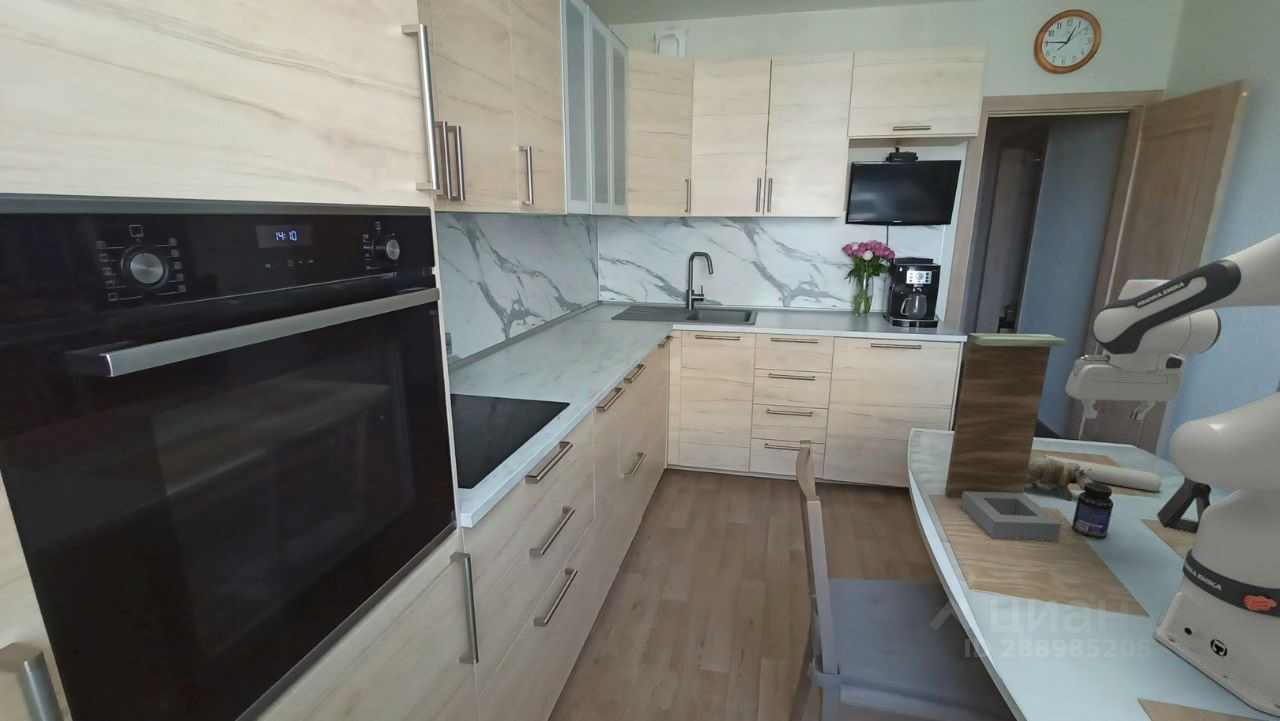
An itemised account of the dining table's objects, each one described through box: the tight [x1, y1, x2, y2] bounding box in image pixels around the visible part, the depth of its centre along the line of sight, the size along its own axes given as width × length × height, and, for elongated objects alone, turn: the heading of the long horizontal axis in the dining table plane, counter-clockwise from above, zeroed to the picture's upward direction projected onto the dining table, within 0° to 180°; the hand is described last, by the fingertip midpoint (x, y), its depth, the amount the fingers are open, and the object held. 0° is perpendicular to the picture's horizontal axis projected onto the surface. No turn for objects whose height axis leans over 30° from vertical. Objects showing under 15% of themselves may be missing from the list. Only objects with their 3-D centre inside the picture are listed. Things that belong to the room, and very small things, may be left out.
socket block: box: [960, 491, 1063, 541], centre depth 129 cm, size 14×14×4 cm
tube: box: [1042, 454, 1163, 492], centre depth 150 cm, size 5×5×25 cm
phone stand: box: [1156, 476, 1212, 534], centre depth 127 cm, size 9×6×12 cm, turn 59°
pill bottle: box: [1071, 482, 1114, 540], centre depth 124 cm, size 6×6×11 cm
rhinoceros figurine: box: [1025, 456, 1095, 502], centre depth 143 cm, size 8×14×15 cm
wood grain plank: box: [944, 332, 1067, 499], centre depth 134 cm, size 6×18×42 cm, turn 87°
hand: (1112, 418), depth 118 cm, fingers open, 8 cm apart
